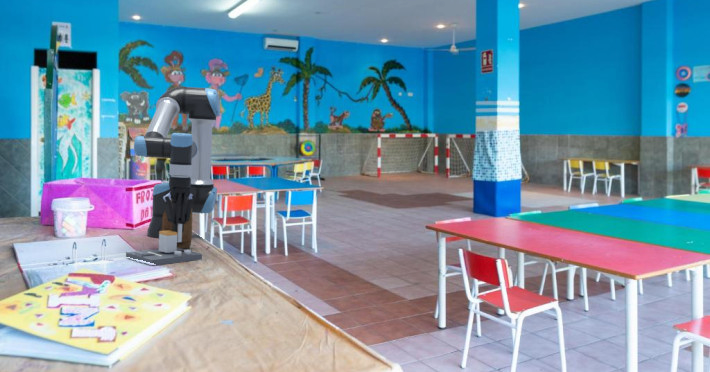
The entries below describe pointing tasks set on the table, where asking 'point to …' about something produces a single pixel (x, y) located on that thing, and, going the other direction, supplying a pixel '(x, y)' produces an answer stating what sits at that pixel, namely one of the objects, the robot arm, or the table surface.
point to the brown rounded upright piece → (185, 234)
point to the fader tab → (167, 241)
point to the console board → (165, 256)
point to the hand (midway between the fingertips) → (177, 241)
